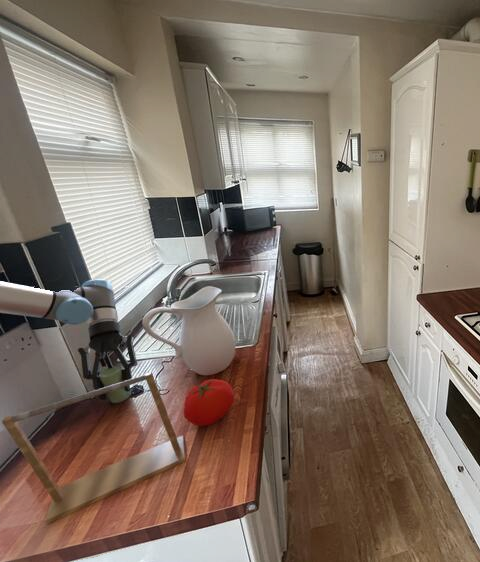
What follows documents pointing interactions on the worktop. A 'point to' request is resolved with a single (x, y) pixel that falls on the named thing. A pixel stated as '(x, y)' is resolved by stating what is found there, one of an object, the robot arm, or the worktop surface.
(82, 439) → the worktop surface
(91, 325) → the robot arm
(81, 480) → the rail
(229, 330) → the pitcher
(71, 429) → the worktop surface
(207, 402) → the tomato
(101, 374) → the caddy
